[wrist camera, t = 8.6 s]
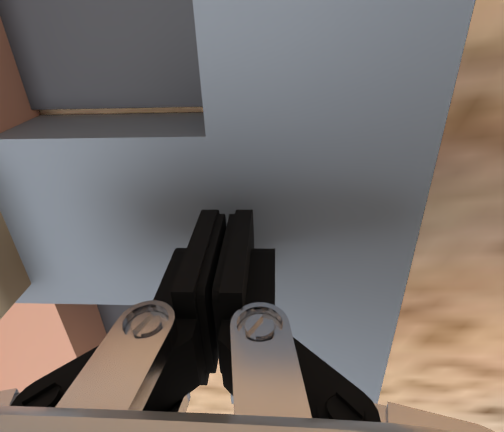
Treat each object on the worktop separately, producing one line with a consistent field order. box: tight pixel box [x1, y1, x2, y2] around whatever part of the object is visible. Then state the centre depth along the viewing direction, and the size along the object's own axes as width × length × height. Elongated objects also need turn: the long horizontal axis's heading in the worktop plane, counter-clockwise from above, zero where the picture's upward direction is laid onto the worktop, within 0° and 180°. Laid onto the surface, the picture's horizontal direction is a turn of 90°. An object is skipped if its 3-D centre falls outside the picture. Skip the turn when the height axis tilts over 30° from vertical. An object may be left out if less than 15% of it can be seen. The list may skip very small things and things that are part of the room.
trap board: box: [0, 0, 475, 404], centre depth 13 cm, size 21×20×6 cm
